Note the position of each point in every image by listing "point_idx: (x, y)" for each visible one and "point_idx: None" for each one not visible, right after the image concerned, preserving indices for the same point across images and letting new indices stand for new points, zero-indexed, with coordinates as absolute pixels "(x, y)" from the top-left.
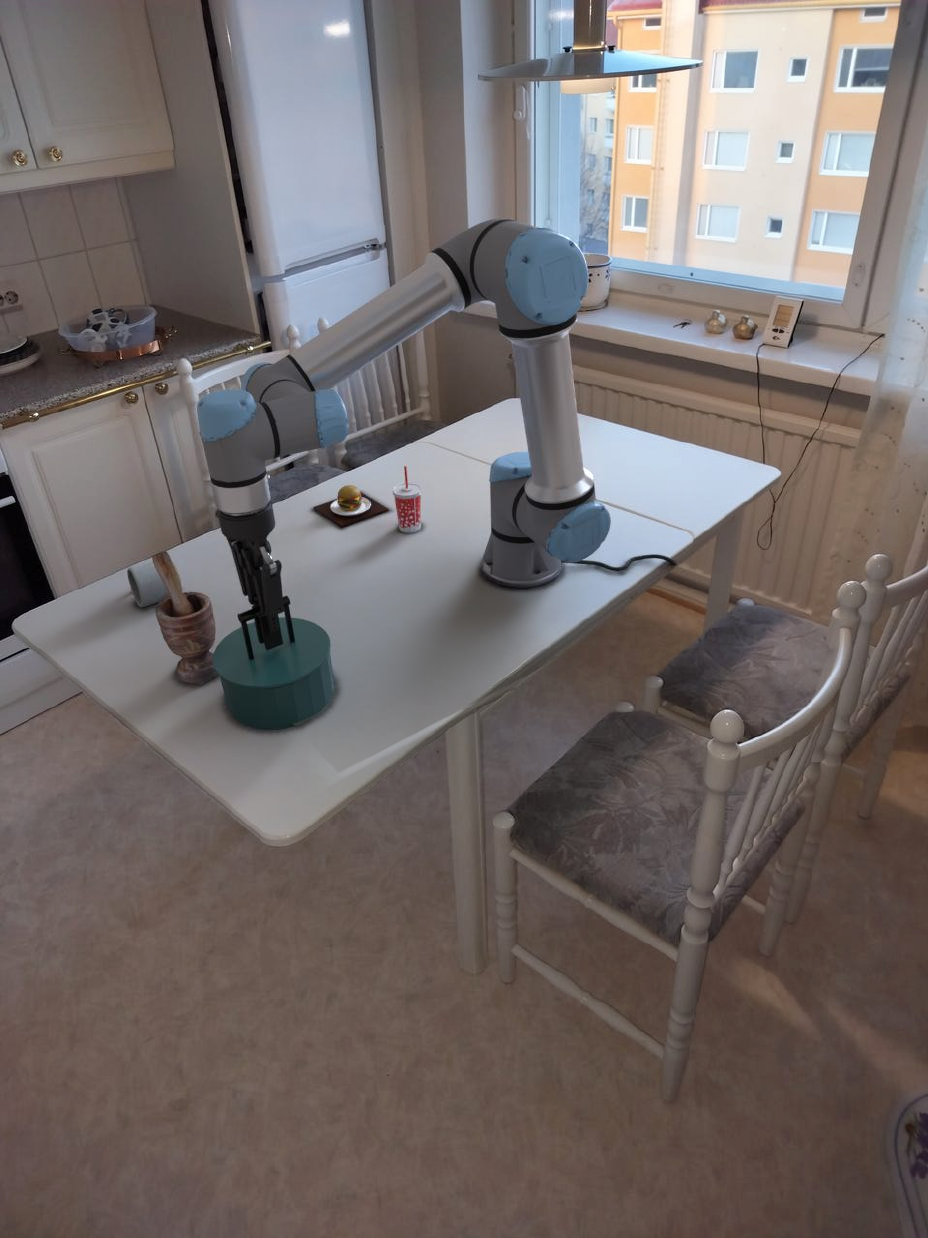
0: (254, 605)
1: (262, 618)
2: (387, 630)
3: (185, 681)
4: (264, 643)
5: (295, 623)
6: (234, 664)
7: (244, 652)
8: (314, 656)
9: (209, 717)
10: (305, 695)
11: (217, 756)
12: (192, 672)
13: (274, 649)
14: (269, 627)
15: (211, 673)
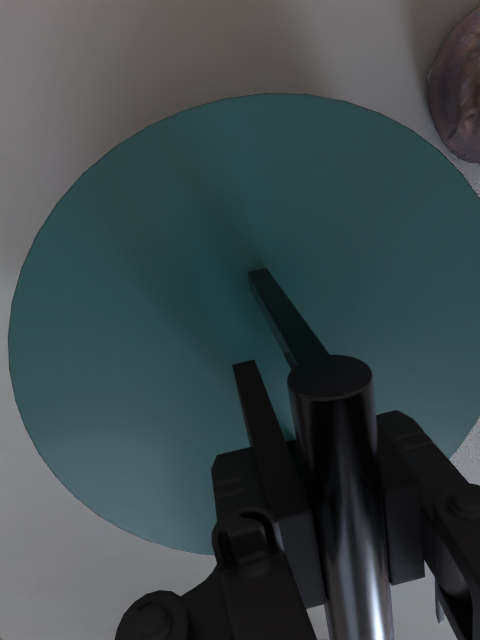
0: (433, 492)
1: (268, 501)
2: None
3: (468, 15)
4: (256, 374)
5: None
6: (252, 196)
7: (318, 261)
8: (147, 498)
9: (240, 49)
10: None
11: (14, 16)
12: (476, 44)
13: (270, 379)
14: (224, 483)
15: (444, 116)
